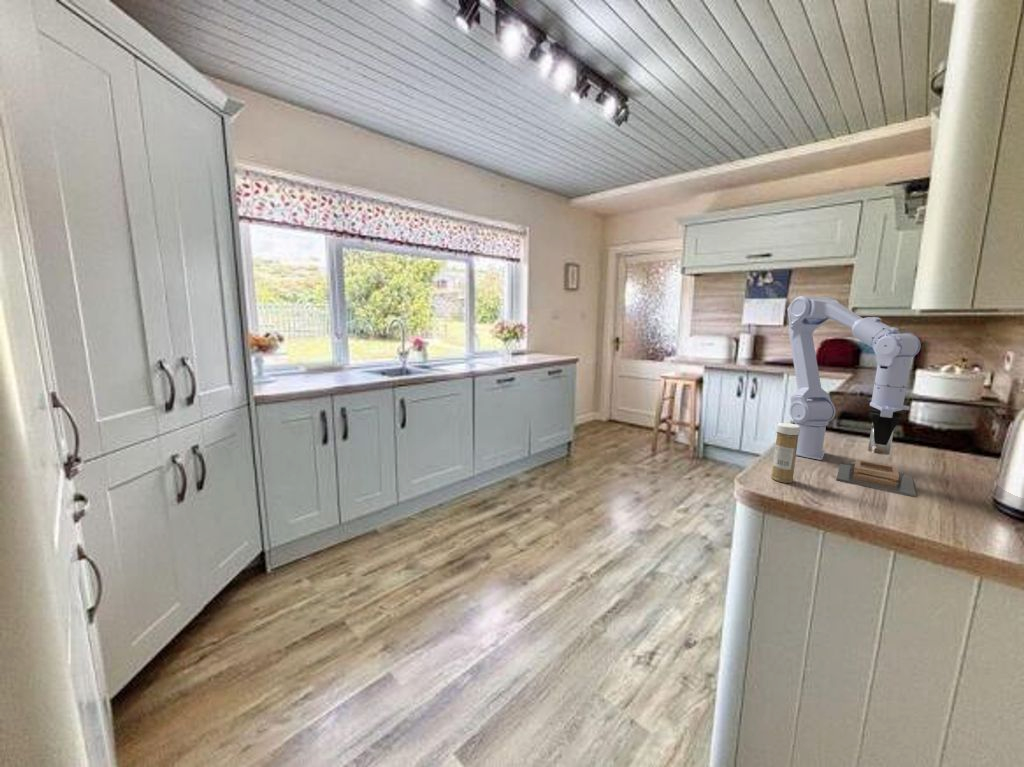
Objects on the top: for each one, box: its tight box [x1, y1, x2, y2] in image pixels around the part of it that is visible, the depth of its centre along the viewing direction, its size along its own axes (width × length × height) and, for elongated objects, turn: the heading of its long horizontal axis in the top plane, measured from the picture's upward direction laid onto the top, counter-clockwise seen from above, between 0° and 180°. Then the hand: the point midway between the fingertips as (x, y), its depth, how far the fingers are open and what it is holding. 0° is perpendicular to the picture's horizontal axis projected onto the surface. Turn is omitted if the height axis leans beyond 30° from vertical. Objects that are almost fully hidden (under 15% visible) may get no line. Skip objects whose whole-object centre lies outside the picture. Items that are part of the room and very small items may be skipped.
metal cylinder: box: [867, 422, 895, 456], centre depth 104 cm, size 4×4×7 cm
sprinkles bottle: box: [770, 422, 800, 484], centre depth 103 cm, size 5×5×14 cm
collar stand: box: [836, 459, 916, 498], centre depth 106 cm, size 14×14×3 cm
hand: (880, 442), depth 104 cm, fingers closed on metal cylinder, 4 cm apart
